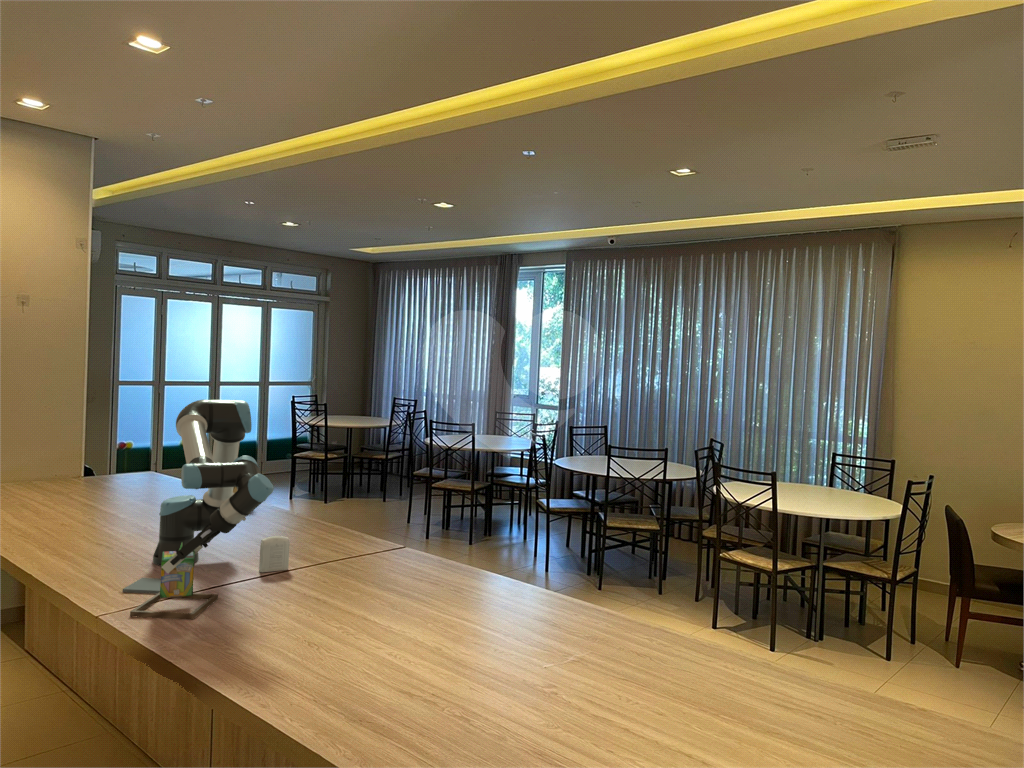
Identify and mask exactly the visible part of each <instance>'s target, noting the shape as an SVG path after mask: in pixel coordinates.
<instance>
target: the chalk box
mask: <svg viewBox="0 0 1024 768" xmlns="http://www.w3.org/2000/svg"><path fill="white" fill-rule="evenodd" d="M182 547H183V542H182V543H181V546H180V549H181V548H182ZM180 549H179V550H180ZM175 554H176V551H167V552H163V553H162V562H161V566H160V567H161V569H160V579H161V584H160V598H161V599H163V598H165V597H179V596H192V595H193V593H194V577H195V576H194V575H195V574H194V573H195V571H194V570H195V562H194V559H195V551H192V552H191V553H190V554H189V555H188V556H186V558H185V559H184V560H183V561H182V562H181V563H179V564H178V565H177V566H176V567H175V568H174V569H173V570H172V571H171V572H169V573H168V574H167V573H166V571H165V570H164V569H163V568H162V566H163V565H164V564H165V563H166V562H167V561H169V560H170V559H171V558H172V557H173V556H174V555H175Z"/></svg>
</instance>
